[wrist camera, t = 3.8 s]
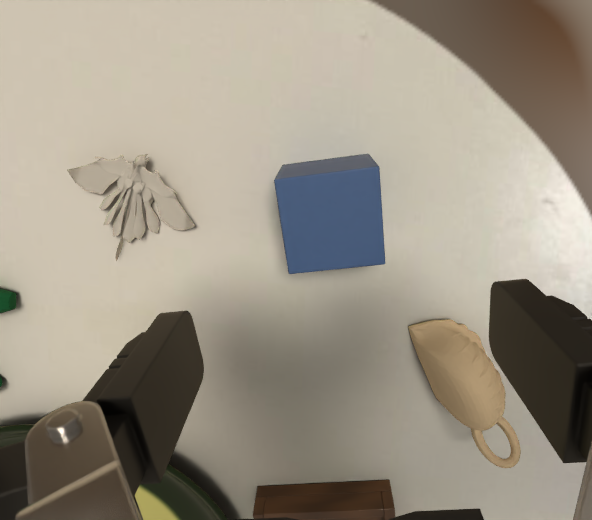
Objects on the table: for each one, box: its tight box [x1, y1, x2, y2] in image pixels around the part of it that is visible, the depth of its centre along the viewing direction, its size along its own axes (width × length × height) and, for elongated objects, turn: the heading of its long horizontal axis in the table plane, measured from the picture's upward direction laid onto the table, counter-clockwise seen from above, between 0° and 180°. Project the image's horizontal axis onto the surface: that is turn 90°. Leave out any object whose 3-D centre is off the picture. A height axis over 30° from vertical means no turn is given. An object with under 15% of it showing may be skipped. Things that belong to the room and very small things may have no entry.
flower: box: [67, 154, 195, 261], centre depth 25 cm, size 8×8×3 cm
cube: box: [274, 154, 385, 274], centre depth 23 cm, size 5×5×4 cm
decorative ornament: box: [408, 319, 521, 468], centre depth 26 cm, size 4×8×5 cm, turn 23°
